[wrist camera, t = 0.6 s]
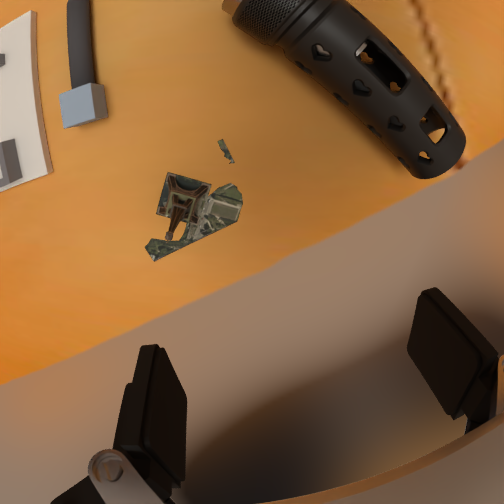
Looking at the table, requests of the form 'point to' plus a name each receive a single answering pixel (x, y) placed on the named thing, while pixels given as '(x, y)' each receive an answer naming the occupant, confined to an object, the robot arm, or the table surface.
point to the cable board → (21, 106)
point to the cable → (81, 71)
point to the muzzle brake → (359, 75)
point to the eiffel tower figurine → (194, 210)
